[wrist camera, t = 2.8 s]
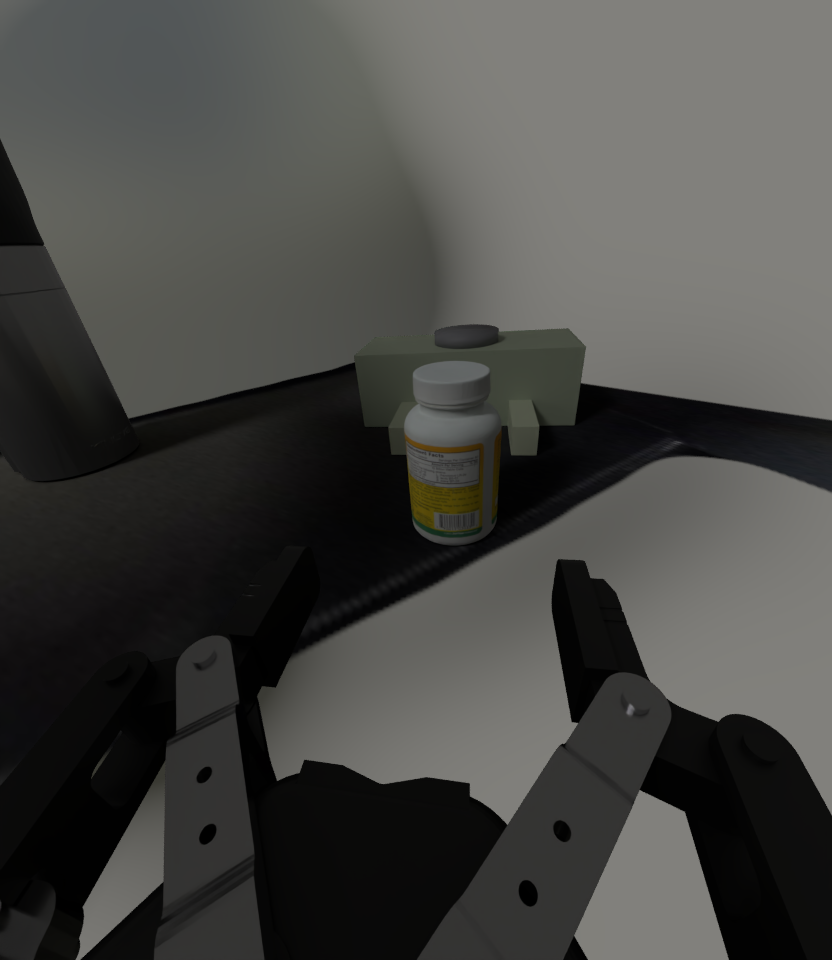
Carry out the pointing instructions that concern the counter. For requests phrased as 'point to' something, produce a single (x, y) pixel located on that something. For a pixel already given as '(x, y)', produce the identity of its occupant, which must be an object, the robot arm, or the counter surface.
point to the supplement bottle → (453, 453)
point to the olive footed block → (513, 377)
